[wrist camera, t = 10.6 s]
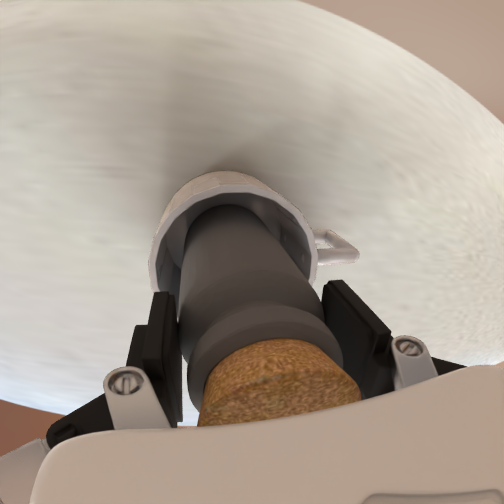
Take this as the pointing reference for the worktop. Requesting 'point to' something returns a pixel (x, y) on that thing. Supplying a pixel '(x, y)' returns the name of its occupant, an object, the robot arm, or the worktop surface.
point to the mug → (256, 200)
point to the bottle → (253, 326)
